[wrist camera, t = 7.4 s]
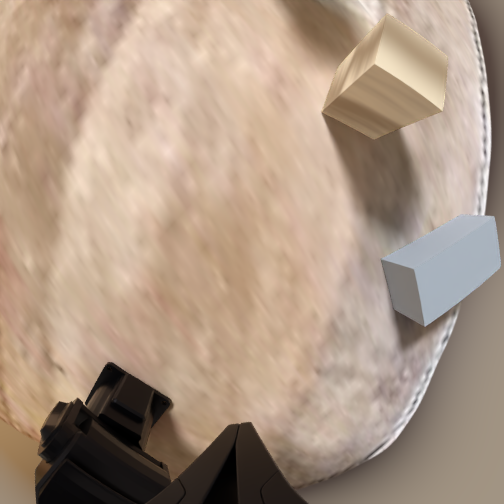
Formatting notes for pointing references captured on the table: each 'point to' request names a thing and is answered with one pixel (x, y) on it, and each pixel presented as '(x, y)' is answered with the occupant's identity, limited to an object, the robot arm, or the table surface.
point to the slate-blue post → (442, 267)
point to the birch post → (388, 81)
